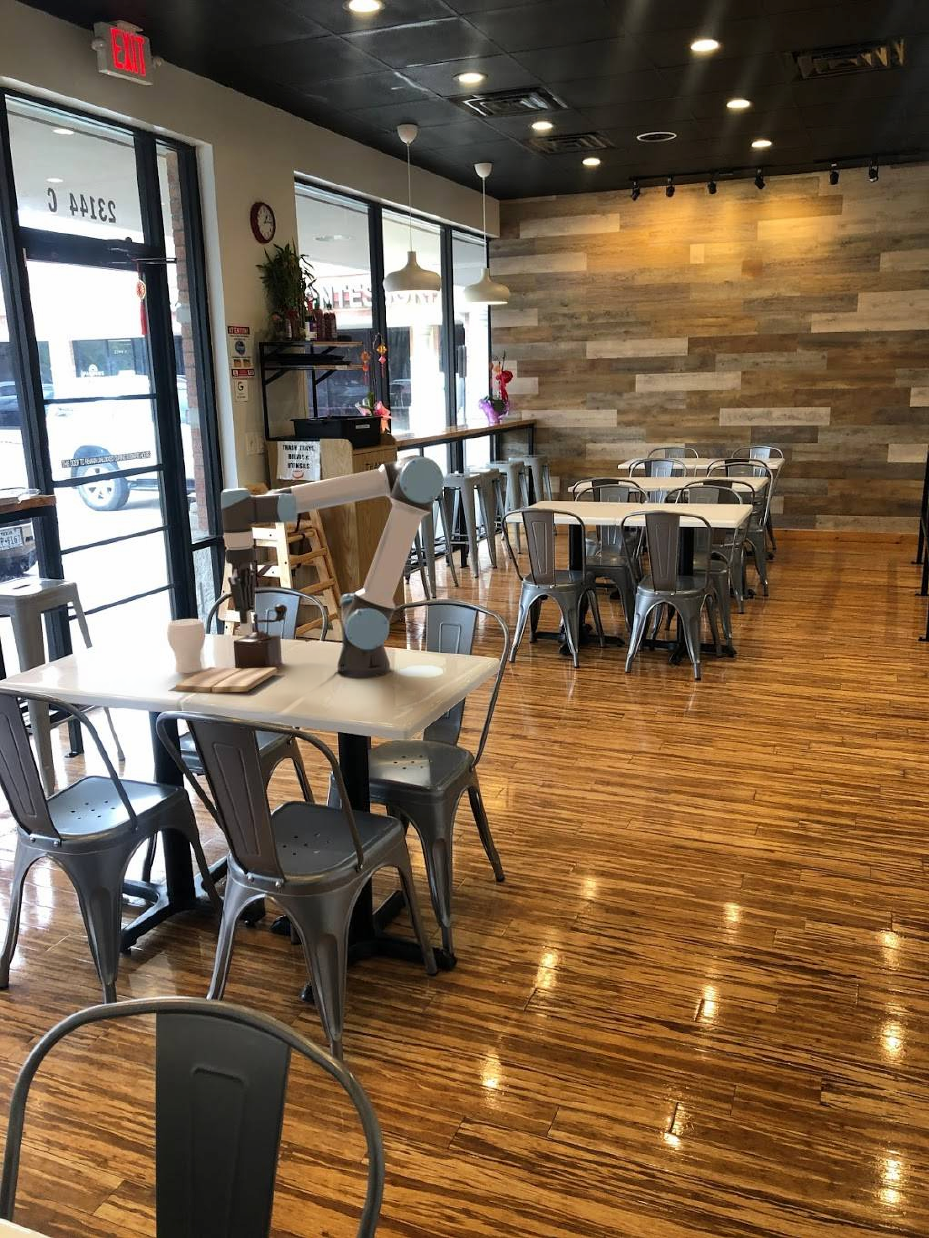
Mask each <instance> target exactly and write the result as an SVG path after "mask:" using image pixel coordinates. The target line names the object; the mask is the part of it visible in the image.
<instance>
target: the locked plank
mask: <svg viewBox="0 0 929 1238" xmlns="http://www.w3.org/2000/svg"><path fill="white" fill-rule="evenodd" d="M240 670H242V669H241V668H235V667H234V668H233V667H217V666H216V667H215V666H209V667H208V668H206V669H204V670H201V671H200V672H198V673H196V674H194V675H192V676H191V677H188V678H187V679H185V680H183V681H181V682H180V683H178V684H176V685H175V687H176V691H175V692H179V691H193V692H192V693H198V692H212V687H213V686H214V685H216V684H218V683H220V682H221V681H223V680H225V679H226V678H228V677H230V676H232V675H233V674H235V673H237V672H239V671H240Z"/></svg>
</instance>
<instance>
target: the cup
mask: <svg viewBox="0 0 929 1238" xmlns="http://www.w3.org/2000/svg"><path fill="white" fill-rule="evenodd" d="M166 634H167V635H166V637H167V640H168V641H167V642H168V643H169V646H170V648H171V649H172V651H173V654H174V657H175V661H176V662H175V663H176V664H175V672H177V673H185V674H189V673H190V674H191V673H195V672H199V671H200V672H201V671H203V665H202V662H201V661H202V660H201V654H202V652H201V651H202V649H203V647H204V645H205V639H206V628H205V625H204V621H203V620H202V619H199V618H183V619H176V620H172V621H170V622H168V626H167V632H166Z"/></svg>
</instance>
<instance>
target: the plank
mask: <svg viewBox="0 0 929 1238" xmlns="http://www.w3.org/2000/svg"><path fill="white" fill-rule="evenodd" d="M277 673H278V671H277V667H274V668H246V669H242V670H240V671H239V672H237V673H235V674H233V675H232V676H230V677H228V678H226V679H225V680H223V681H221V682H220V683H218V684H216V685H214V686H213V687H212V692H243V691H248V690H250V689H252V688H253V687H255V686H256V685H258V684H260V683H261V682H263V681H264V680H266V679H267V678H269V677H271V676H272V675H276V674H277Z"/></svg>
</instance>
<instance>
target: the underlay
mask: <svg viewBox="0 0 929 1238" xmlns="http://www.w3.org/2000/svg"><path fill="white" fill-rule="evenodd" d="M285 676H286V674H274V675H272V676H271V677H269V678H267V679H266V680H264V681H263V682H261V683H260V684H258V685H256V686H255V687H253V688H252V689H250V690H248V691H243V692H197V693H203V694H217V695H218V694H222V695H223V694H224V695H236V696H237V695H241V696H242V695H243V696H256V695H258V693H260V692H262V691H264V690H265V689H266V688H268V687H270V686H271V685H273V684H274V683H276V682H278V681H279V680H280V679H282V678H284V677H285ZM167 691H168V692H177V691H176V686H174V687H172V688H170V689H168V690H167ZM178 692H181V693H194V692H193V691H178Z"/></svg>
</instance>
